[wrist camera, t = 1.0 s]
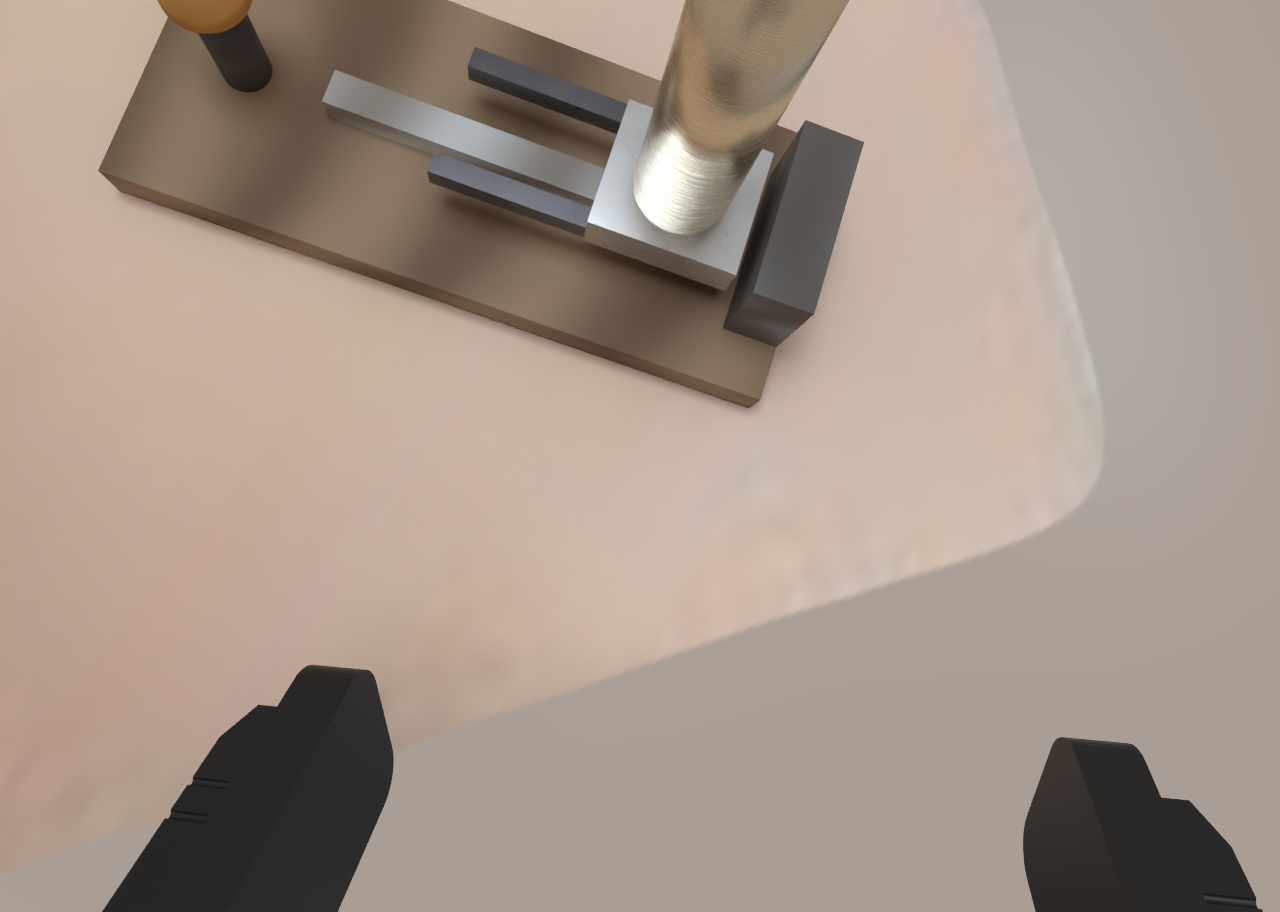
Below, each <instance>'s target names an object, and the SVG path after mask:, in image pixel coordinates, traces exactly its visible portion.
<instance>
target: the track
mask: <svg viewBox="0 0 1280 912" xmlns="http://www.w3.org/2000/svg"><path fill="white" fill-rule="evenodd" d="M157 1H158V2H159V4H160V5H161V7H162V9H163V10H164V12H165V13H166V15H167V16H168V19H167V21H166V23H165V25H164V27H163V30H162V32H161V34H160V36H159V38H158V41H157V43H156V45H155V47H154V49H153V52H152V54H151V56H150V58H149V60H148V63H147V65H146V67H145V69H144V71H143V74H142V76H141V78H140V80H139V82H138V85H137V87H136V89H135V91H134V93H133V96H132V98H131V100H130V102H129V104H128V107H127V109H126V111H125V113H124V115H123V118H122V120H121V122H120V124H119V126H118V129H117V131H116V133H115V135H114V137H113V140H112V142H111V144H110V146H109V148H108V151H107V153H106V155H105V157H104V159H103V162H102V164H101V166H100V168H99V170H98V171H99V172H100V173H101V174H102V175H104V176H105V177H106V178H107V179H108V180H109V181H110V182H111V183H112V184H113V185H114V186H115V187H116V188H117V189H118V190H119V191H122V192H125V193H128V194H131V195H134V196H137V197H140V198H142V199H145V200H148V201H151V202H154V203H157V204H160V205H163V206H166V207H169V208H171V209H174V210H177V211H180V212H183V213H186V214H189V215H192V216H195V217H197V218H200V219H203V220H206V221H209V222H212V223H215V224H218V225H221V226H224V227H226V228H229V229H232V230H235V231H238V232H241V233H244V234H247V235H250V236H252V237H255V238H258V239H261V240H264V241H267V242H270V243H273V244H276V245H279V246H281V247H284V248H287V249H290V250H293V251H296V252H299V253H302V254H305V255H308V256H310V257H313V258H316V259H319V260H322V261H325V262H328V263H331V264H334V265H336V266H339V267H342V268H345V269H348V270H351V271H354V272H357V273H360V274H363V275H365V276H368V277H371V278H374V279H377V280H380V281H383V282H386V283H389V284H392V285H394V286H397V287H400V288H403V289H406V290H409V291H412V292H415V293H418V294H420V295H423V296H426V297H429V298H432V299H435V300H438V301H441V302H444V303H447V304H449V305H452V306H455V307H458V308H461V309H464V310H467V311H470V312H473V313H476V314H478V315H481V316H484V317H487V318H490V319H493V320H496V321H499V322H502V323H504V324H507V325H510V326H513V327H516V328H519V329H522V330H525V331H528V332H531V333H533V334H536V335H539V336H542V337H545V338H548V339H551V340H554V341H557V342H560V343H562V344H565V345H568V346H571V347H574V348H577V349H580V350H583V351H586V352H588V353H591V354H594V355H597V356H600V357H603V358H606V359H609V360H612V361H615V362H617V363H620V364H623V365H626V366H629V367H632V368H635V369H638V370H641V371H644V372H646V373H649V374H652V375H655V376H658V377H661V378H664V379H667V380H670V381H672V382H675V383H678V384H681V385H684V386H687V387H690V388H693V389H696V390H699V391H701V392H704V393H707V394H710V395H713V396H716V397H719V398H722V399H725V400H728V401H730V402H733V403H736V404H739V405H742V406H745V407H748V408H749V407H751V406H752V405H753V404H755V403H756V402H758V401H759V400H760V398H761V395H762V391H763V388H764V385H765V381H766V378H767V375H768V371H769V368H770V364H771V361H772V358H773V354H774V351H775V348H776V346H778V345H779V344H780V343H781V342H782V341H783V340H784V339H786V338H787V337H788V336H789V335H790V334H791V333H793V332H794V331H795V330H796V329H797V328H798V327H800V326H801V325H802V324H803V323H804V322H805V321H807V320H808V319H809V318H810V317H811V316H812V315H814V312H815V309H816V305H817V302H818V298H819V295H820V291H821V288H822V285H823V281H824V278H825V274H826V271H827V267H828V264H829V260H830V257H831V254H832V250H833V247H834V243H835V240H836V236H837V233H838V230H839V226H840V223H841V219H842V216H843V212H844V209H845V206H846V202H847V199H848V195H849V192H850V188H851V185H852V181H853V178H854V175H855V171H856V168H857V164H858V161H859V157H860V154H861V151H862V147H863V144H864V142H862V141H859V140H857V139H854V138H851V137H849V136H846V135H843V134H841V133H838V132H836V131H833V130H830V129H828V128H825V127H822V126H820V125H817V124H815V123H812V122H809V121H807V120H805V122H804V124H803V125H802V127H801V128H800V130H799V131H798V133H797V132H794V131H791V130H789V129H786V128H783V127H781V126H778V125H776V127H775V128H774V130H773V132H772V134H771V135H770V137H769V139H768V140H767V142H766V144H765V146H764V147H763V149H764V150H767V151H769V152H772V153H774V155H773V158H772V161H771V165H770V168H769V171H768V174H767V177H766V181H765V184H764V187H763V190H762V194H761V197H760V200H759V203H758V207H757V210H756V213H755V216H754V219H753V223H752V226H751V229H750V232H749V236H748V239H747V242H746V245H745V248H744V252H743V255H742V258H741V261H740V265H739V268H738V271H737V274H736V276H735V278H734V279H733V280H732V282H731V283H730V284H729V286H728V287H727V288H726V290H725V291H723V290H720V289H717V288H714V287H712V286H709V285H706V284H703V283H700V282H698V281H695V280H692V279H689V278H686V277H684V276H681V275H678V274H675V273H672V272H670V271H667V270H664V269H661V268H658V267H656V266H653V265H650V264H647V263H644V262H642V261H639V260H636V259H633V258H630V257H628V256H625V255H622V254H619V253H616V252H614V251H611V250H608V249H605V248H603V247H600V246H597V245H594V244H591V243H589V242H586V241H583V239H584V237H581V236H578V235H576V234H573V233H570V232H567V231H564V230H562V229H559V228H556V227H553V226H550V225H548V224H545V223H542V222H539V221H536V220H534V219H531V218H528V217H525V216H522V215H520V214H517V213H514V212H511V211H509V210H506V209H503V208H500V207H497V206H495V205H492V204H489V203H486V202H483V201H481V200H478V199H475V198H472V197H469V196H467V195H464V194H461V193H458V192H455V191H453V190H450V189H447V188H444V187H441V186H439V185H436V184H433V183H430V182H429V177H428V173H427V170H428V167H429V165H430V162H431V159H432V157H433V154H434V152H435V151H436V152H438V153H441V154H444V155H447V156H449V157H452V158H455V159H458V160H460V161H463V162H466V163H469V164H471V165H474V166H477V167H480V168H483V169H485V170H488V171H491V172H494V173H496V174H499V175H502V176H505V177H507V178H510V179H513V180H516V181H518V182H521V183H524V184H527V185H530V186H532V187H535V188H538V189H541V190H543V191H546V192H549V193H552V194H554V195H557V196H560V197H563V198H565V199H568V200H571V201H574V202H577V203H579V204H582V205H585V206H588V207H590V208H592V206H593V203H594V200H595V197H596V194H597V191H598V188H599V185H600V182H601V180H602V177H603V174H604V171H605V168H606V165H607V162H608V159H609V156H610V153H611V151H612V148H613V145H614V142H615V139H616V136H617V134H614V133H612V132H609V131H606V130H604V129H601V128H598V127H596V126H593V125H590V124H588V123H585V122H582V121H579V120H577V119H574V118H571V117H569V116H566V115H563V114H561V113H558V112H555V111H552V110H550V109H547V108H544V107H542V106H539V105H536V104H534V103H531V102H528V101H526V100H523V99H520V98H517V97H515V96H512V95H509V94H507V93H504V92H501V91H499V90H496V89H493V88H490V87H488V86H485V85H482V84H480V83H477V82H474V81H472V80H469V76H468V63H469V60H470V58H471V55H472V53H473V50H474V47H477V48H480V49H482V50H485V51H488V52H490V53H493V54H496V55H498V56H501V57H504V58H506V59H509V60H512V61H514V62H517V63H520V64H522V65H525V66H528V67H530V68H533V69H536V70H538V71H541V72H544V73H546V74H549V75H552V76H554V77H557V78H560V79H562V80H565V81H568V82H570V83H573V84H576V85H578V86H581V87H584V88H586V89H589V90H592V91H594V92H597V93H600V94H602V95H605V96H608V97H610V98H613V99H616V100H618V101H621V102H624V103H626V104H628V101H629V99H631V100H633V101H636V102H639V103H641V104H644V105H647V106H649V107H652V108H654V105H655V101H656V98H657V94H658V91H659V88H660V84H661V81H659V80H657V79H654V78H651V77H649V76H646V75H643V74H641V73H638V72H636V71H633V70H630V69H628V68H625V67H622V66H620V65H617V64H614V63H612V62H609V61H607V60H604V59H601V58H599V57H596V56H593V55H591V54H588V53H585V52H583V51H580V50H577V49H575V48H572V47H570V46H567V45H564V44H562V43H559V42H556V41H554V40H551V39H548V38H546V37H543V36H541V35H538V34H535V33H533V32H530V31H527V30H525V29H522V28H519V27H517V26H514V25H511V24H509V23H506V22H504V21H501V20H498V19H496V18H493V17H490V16H488V15H485V14H482V13H480V12H477V11H475V10H472V9H469V8H467V7H464V6H461V5H459V4H456V3H453V2H451V1H448V0H157Z"/></svg>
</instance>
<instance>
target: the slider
mask: <svg viewBox="0 0 1280 912" xmlns="http://www.w3.org/2000/svg"><path fill="white" fill-rule="evenodd" d="M848 2H849V0H685V4H684V7H683V10H682V14H681V17H680V20H679V24H678V27H677V30H676V34H675V37H674V41H673V44H672V47H671V51H670V54H669V57H668V61H667V64H666V67H665V71H664V74H663V78H662V81H661V84H660V88H659V91H658V94H657V98H656V101H655V105H654V108H652V107H649V106H647V105H644V104H641V103H639V102H636V101H633V100H631V99H629V101H628V104H626V103H624V102H621V101H618V100H616V99H613V98H610V97H608V96H605V95H602V94H600V93H597V92H594V91H592V90H589V89H586V88H584V87H581V86H578V85H576V84H573V83H570V82H568V81H565V80H562V79H560V78H557V77H554V76H552V75H549V74H546V73H544V72H541V71H538V70H536V69H533V68H530V67H528V66H525V65H522V64H520V63H517V62H514V61H512V60H509V59H506V58H504V57H501V56H498V55H496V54H493V53H490V52H488V51H485V50H482V49H480V48H477V47H474V50H473V53H472V55H471V58H470V60H469V63H468V76H469V80H472V81H474V82H477V83H480V84H482V85H485V86H488V87H490V88H493V89H496V90H499V91H501V92H504V93H507V94H509V95H512V96H515V97H517V98H520V99H523V100H526V101H528V102H531V103H534V104H536V105H539V106H542V107H544V108H547V109H550V110H552V111H555V112H558V113H561V114H563V115H566V116H569V117H571V118H574V119H577V120H579V121H582V122H585V123H588V124H590V125H593V126H596V127H598V128H601V129H604V130H606V131H609V132H612V133H614V134H617V136H616V139H615V142H614V145H613V148H612V151H611V153H610V156H609V159H608V162H607V165H606V168H605V171H604V174H603V177H602V180H601V182H600V185H599V188H598V191H597V194H596V197H595V200H594V203H593V206H592V208H590V207H588V206H585V205H582V204H579V203H577V202H574V201H571V200H568V199H565V198H563V197H560V196H557V195H554V194H552V193H549V192H546V191H543V190H541V189H538V188H535V187H532V186H530V185H527V184H524V183H521V182H518V181H516V180H513V179H510V178H507V177H505V176H502V175H499V174H496V173H494V172H491V171H488V170H485V169H483V168H480V167H477V166H474V165H471V164H469V163H466V162H463V161H460V160H458V159H455V158H452V157H449V156H447V155H444V154H441V153H438V152H436V151H435V152H434V154H433V157H432V159H431V162H430V165H429V167H428V170H427V173H428V177H429V182H430V183H433V184H436V185H439V186H441V187H444V188H447V189H450V190H453V191H455V192H458V193H461V194H464V195H467V196H469V197H472V198H475V199H478V200H481V201H483V202H486V203H489V204H492V205H495V206H497V207H500V208H503V209H506V210H509V211H511V212H514V213H517V214H520V215H522V216H525V217H528V218H531V219H534V220H536V221H539V222H542V223H545V224H548V225H550V226H553V227H556V228H559V229H562V230H564V231H567V232H570V233H573V234H576V235H578V236H581V237H584V239H583V241H586V242H589V243H591V244H594V245H597V246H600V247H603V248H605V249H608V250H611V251H614V252H616V253H619V254H622V255H625V256H628V257H630V258H633V259H636V260H639V261H642V262H644V263H647V264H650V265H653V266H656V267H658V268H661V269H664V270H667V271H670V272H672V273H675V274H678V275H681V276H684V277H686V278H689V279H692V280H695V281H698V282H700V283H703V284H706V285H709V286H712V287H714V288H717V289H720V290H723V291H725V290H726V288H727V287H728V286H729V284H730V283H731V282H732V280H733V279H734V278H735V276H736V274H737V271H738V268H739V265H740V261H741V258H742V255H743V252H744V248H745V245H746V242H747V239H748V236H749V232H750V229H751V226H752V223H753V219H754V216H755V213H756V210H757V207H758V203H759V200H760V197H761V194H762V190H763V187H764V184H765V181H766V177H767V174H768V171H769V168H770V165H771V161H772V158H773V155H774V153H772V152H769V151H767V150H764V149H763V147H764V146H765V144H766V142H767V140H768V139H769V137H770V135H771V134H772V132H773V130H774V128H775V127H776V125H777V123H778V122H779V120H780V118H781V116H782V115H783V113H784V111H785V110H786V108H787V106H788V105H789V103H790V101H791V99H792V98H793V96H794V94H795V93H796V91H797V89H798V87H799V86H800V84H801V82H802V81H803V79H804V77H805V75H806V74H807V72H808V70H809V69H810V67H811V65H812V63H813V62H814V60H815V58H816V57H817V55H818V53H819V51H820V50H821V48H822V46H823V45H824V43H825V41H826V39H827V38H828V36H829V34H830V33H831V31H832V29H833V28H834V26H835V24H836V22H837V21H838V19H839V17H840V16H841V14H842V12H843V10H844V9H845V7H846V5H847V4H848Z"/></svg>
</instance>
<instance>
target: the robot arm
mask: <svg viewBox="0 0 1280 912" xmlns="http://www.w3.org/2000/svg"><path fill="white" fill-rule="evenodd" d="M392 774H393V750H392V745H391V741H390V737H389V733H388V729H387V725H386V721H385V717H384V713H383V708H382V704H381V700H380V696H379V692H378V688H377V684H376V680H375V677H374V675H373V674H372V673H371V672H370V671H368V670H361V669H351V668H340V667H329V666H319V665H309V666H306V667H305V668H303V669H302V670H301V671H300V672H299V673H298V675H297V676H296V678H295V679H294V681H293V682H292V684H291V685H290V687H289V689H288V690H287V692H286V693H285V695H284V697H283V698H282V700H281V701H280V703H279V705H278V706H277V707H274V706H264V705H258V706H257V707H255V708H254V709H253V710H252V711H251V712H249V713H248V714H247V715H246V716H245V717H243V718H242V719H241V720H240V721H239V722H237V723H236V724H235V725H234V726H233V727H231V728H230V729H229V730H228V731H227V732H225V733H224V734H223V735H222V736H221V737H219V739H218V740H217V742H216V743H215V745H214V746H213V748H212V749H211V751H210V752H209V754H208V755H207V757H206V758H205V760H204V761H203V763H202V764H201V766H200V767H199V769H198V770H197V772H196V773H195V775H194V776H193V782H192V784H191V785H187V786H186V788H185V789H184V791H183V792H182V794H181V795H180V797H179V798H178V800H177V801H176V803H175V804H174V806H173V807H172V809H171V815H170V817H169V818H168V819H164V821H163V822H162V824H161V825H160V827H159V828H158V830H157V831H156V833H155V834H154V836H153V837H152V838H151V840H150V842H149V843H148V844H147V846H146V847H145V849H144V850H143V852H142V853H141V855H140V856H139V858H138V859H137V861H136V862H135V864H134V865H133V867H132V868H131V870H130V872H129V873H128V874H127V876H126V877H125V879H124V880H123V882H122V883H121V885H120V886H119V888H118V889H117V891H116V892H115V894H114V895H113V897H112V898H111V899H110V901H109V902H108V904H107V906H106V907H105V909H104V910H103V911H102V912H338V910H339V907H340V905H341V903H342V901H343V898H344V896H345V893H346V891H347V889H348V887H349V884H350V882H351V880H352V878H353V875H354V873H355V871H356V869H357V866H358V864H359V862H360V859H361V857H362V855H363V853H364V850H365V848H366V846H367V843H368V841H369V839H370V837H371V834H372V832H373V829H374V827H375V825H376V823H377V821H378V818H379V816H380V814H381V811H382V809H383V807H384V804H385V802H386V799H387V796H388V793H389V789H390V785H391V780H392ZM1023 851H1024V864H1025V870H1026V876H1027V880H1028V884H1029V888H1030V892H1031V895H1032V899H1033V903H1034V907H1035V911H1036V912H1263V911H1262V909H1258V908H1257V906H1256V897H1255V895H1254V893H1253V891H1252V888H1251V887H1250V884H1249V882H1248V880H1247V878H1246V876H1245V874H1244V872H1243V870H1242V868H1241V866H1240V864H1239V862H1238V860H1237V858H1236V855H1235V853H1234V851H1233V849H1232V847H1231V846H1230V845H1229V844H1228V843H1227V841H1226V840H1225V839H1224V838H1223V837H1222V836H1221V835H1220V834H1219V833H1218V832H1217V831H1216V829H1215V828H1214V827H1213V826H1212V825H1211V824H1210V823H1209V822H1208V821H1207V820H1206V819H1205V817H1204V816H1203V815H1202V814H1201V813H1200V812H1199V811H1198V810H1197V809H1196V808H1195V806H1194V805H1193V804H1192V803H1191V802H1190V801H1188V800H1179V799H1169V798H1161V796H1160V794H1159V792H1158V789H1157V787H1156V785H1155V782H1154V780H1153V778H1152V776H1151V773H1150V771H1149V769H1148V766H1147V764H1146V762H1145V760H1144V758H1143V756H1142V754H1141V753H1140V751H1139V750H1138V749H1137V748H1136V747H1135V746H1134V745H1132V744H1128V743H1118V742H1107V741H1096V740H1086V739H1074V738H1064V737H1061V738H1058V739H1056V740H1055V742H1054V743H1053V746H1052V748H1051V750H1050V753H1049V756H1048V759H1047V761H1046V764H1045V767H1044V770H1043V773H1042V776H1041V778H1040V781H1039V784H1038V787H1037V790H1036V793H1035V795H1034V798H1033V801H1032V803H1031V806H1030V809H1029V812H1028V815H1027V818H1026V821H1025V827H1024V836H1023Z"/></svg>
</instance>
